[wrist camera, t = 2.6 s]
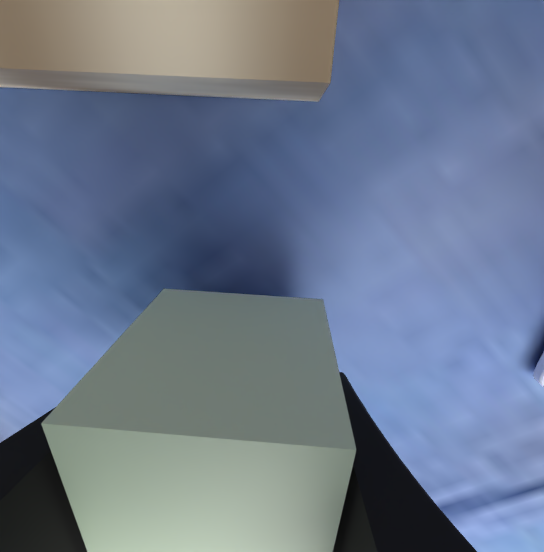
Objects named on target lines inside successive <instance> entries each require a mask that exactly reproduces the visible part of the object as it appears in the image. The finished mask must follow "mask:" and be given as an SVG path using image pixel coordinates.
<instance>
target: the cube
mask: <svg viewBox="0 0 544 552" xmlns="http://www.w3.org/2000/svg"><path fill="white" fill-rule="evenodd" d="M41 425H42V427H43V430H44V433H45V436H46V438H47V441H48V444H49V447H50V449H51V452H52V455H53V458H54V461H55V463H56V466H57V469H58V472H59V474H60V477H61V480H62V483H63V485H64V488H65V491H66V494H67V497H68V499H69V502H70V505H71V508H72V510H73V513H74V516H75V519H76V521H77V524H78V527H79V530H80V532H81V535H82V538H83V541H84V544H85V546H86V549H87V552H333V548H334V544H335V540H336V535H337V531H338V527H339V523H340V518H341V514H342V510H343V505H344V501H345V497H346V493H347V488H348V484H349V480H350V475H351V471H352V467H353V463H354V458H355V454H356V446H355V441H354V437H353V432H352V428H351V423H350V419H349V414H348V410H347V405H346V401H345V396H344V392H343V387H342V383H341V378H340V374H339V369H338V365H337V360H336V356H335V351H334V347H333V342H332V338H331V333H330V329H329V324H328V320H327V315H326V311H325V306H324V302H323V299H310V298H295V297H280V296H265V295H251V294H236V293H221V292H206V291H192V290H177V289H163V290H162V291H161V292H160V293H159V295H158V296H157V297H156V298H155V299H154V300H153V301H152V302H151V303H150V304H149V306H148V307H147V308H146V309H145V310H144V311H143V312H142V313H141V314H140V315H139V317H138V318H137V319H136V320H135V321H134V322H133V323H132V324H131V325H130V326H129V327H128V329H127V330H126V331H125V332H124V333H123V334H122V335H121V336H120V337H119V338H118V340H117V341H116V342H115V343H114V344H113V345H112V346H111V347H110V348H109V349H108V351H107V352H106V353H105V354H104V355H103V356H102V357H101V358H100V359H99V360H98V362H97V363H96V364H95V365H94V366H93V367H92V368H91V369H90V370H89V371H88V373H87V374H86V375H85V376H84V377H83V378H82V379H81V380H80V381H79V382H78V384H77V385H76V386H75V387H74V388H73V389H72V390H71V391H70V392H69V393H68V395H67V396H66V397H65V398H64V399H63V400H62V401H61V402H60V403H59V404H58V405H57V407H56V408H55V409H54V410H53V411H52V412H51V413H50V414H49V415H48V416H47V418H46V419H45V420H44V421H43V422H42V423H41Z"/></svg>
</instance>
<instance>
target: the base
mask: <svg viewBox="0 0 544 552" xmlns="http://www.w3.org/2000/svg"><path fill="white" fill-rule="evenodd" d="M338 6H339V0H0V87H10V88H32V89H54V90H76V91H98V92H119V93H141V94H163V95H185V96H206V97H228V98H250V99H272V100H293V101H315V102H319V100H320V99H321V97H322V95H323V94H324V92H325V91H326V89H327V87H328V86H329V84H330V82H331V72H332V63H333V53H334V44H335V34H336V25H337V15H338Z"/></svg>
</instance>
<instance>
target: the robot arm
mask: <svg viewBox="0 0 544 552" xmlns="http://www.w3.org/2000/svg"><path fill="white" fill-rule="evenodd" d="M339 374H340V378H341V383H342V387H343V392H344V396H345V401H346V405H347V410H348V414H349V419H350V423H351V428H352V432H353V437H354V441H355V446H356V454H355V458H354V463H353V467H352V471H351V475H350V480H349V484H348V488H347V493H346V497H345V501H344V505H343V510H342V514H341V518H340V523H339V527H338V531H337V535H336V540H335V544H334V548H333V552H477V551H476V550H475V549H474V548H473V547H472V545H471V544H470V543H469V542H468V541H467V540H466V539H465V538H464V536H463V535H462V534H461V533H460V532H459V531H458V530H457V529H456V527H455V526H454V525H453V524H452V523H451V522H450V520H449V519H448V518H447V517H446V516H445V515H444V513H443V512H442V511H441V510H440V509H439V507H438V506H437V505H436V504H435V503H434V501H433V500H432V499H431V498H430V497H429V495H428V494H427V493H426V492H425V490H424V489H423V488H422V487H421V485H420V484H419V483H418V482H417V480H416V479H415V478H414V476H413V475H412V474H411V472H410V471H409V470H408V468H407V467H406V466H405V465H404V463H403V462H402V461H401V459H400V458H399V457H398V455H397V454H396V452H395V451H394V450H393V448H392V447H391V446H390V444H389V443H388V441H387V440H386V438H385V437H384V435H383V434H382V433H381V431H380V430H379V428H378V427H377V425H376V424H375V422H374V421H373V419H372V418H371V416H370V415H369V413H368V412H367V410H366V409H365V407H364V406H363V404H362V402H361V401H360V399H359V398H358V396H357V394H356V393H355V391H354V389H353V388H352V386H351V384H350V382H349V381H348V379H347V377H346V376H345V375H344V373H343V372H339ZM533 376H534V379H535V380H536V381H537V382H538V383H540V384H541V385H542V386H543V387H544V352H543V354H542V356H541V358H540V360H539V362H538V364H537V366H536V368H535V370H534V373H533ZM55 408H56V407H55ZM55 408H54V409H55ZM54 409H52V410H51V411H49V412H48V413H46V414H44V415H43V416H41V417H40V418H38V419H37V420H35V421H34V422H32V423H30V424H29V425H27V426H26V427H24V428H23V429H21V430H20V431H18V432H17V433H15V434H13V435H12V436H10V437H9V438H7V439H6V440H4V441H2V442H1V443H0V552H87V549H86V546H85V544H84V541H83V538H82V535H81V532H80V530H79V527H78V524H77V521H76V519H75V516H74V513H73V510H72V508H71V505H70V502H69V499H68V497H67V494H66V491H65V488H64V485H63V483H62V480H61V477H60V474H59V472H58V469H57V466H56V463H55V461H54V458H53V455H52V452H51V449H50V447H49V444H48V441H47V438H46V436H45V433H44V430H43V427H42V425H41V423H42V422H43V421H44V420H45V419H46V418H47V416H48V415H49V414H50V413H51V412H52V411H53V410H54Z"/></svg>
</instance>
